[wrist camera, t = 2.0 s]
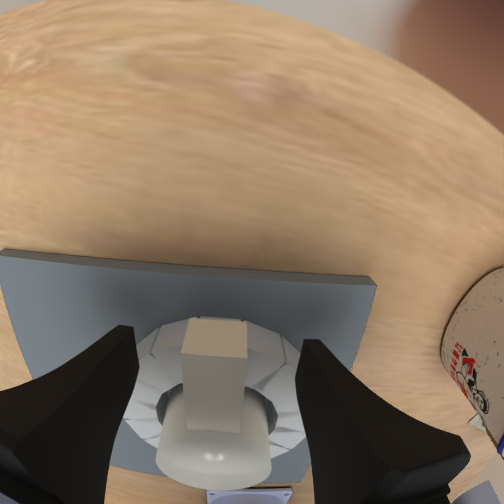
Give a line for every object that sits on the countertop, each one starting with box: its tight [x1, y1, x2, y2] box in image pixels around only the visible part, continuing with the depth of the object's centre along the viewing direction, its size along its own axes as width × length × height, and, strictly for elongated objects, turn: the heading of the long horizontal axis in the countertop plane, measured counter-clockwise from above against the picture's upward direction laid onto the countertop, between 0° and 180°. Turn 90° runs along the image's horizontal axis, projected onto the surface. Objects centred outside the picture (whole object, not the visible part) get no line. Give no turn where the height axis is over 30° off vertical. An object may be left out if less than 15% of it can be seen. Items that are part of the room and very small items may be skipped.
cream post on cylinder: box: [156, 318, 272, 491], centre depth 12 cm, size 9×5×5 cm, turn 175°
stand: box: [0, 249, 377, 484], centre depth 15 cm, size 19×20×3 cm
